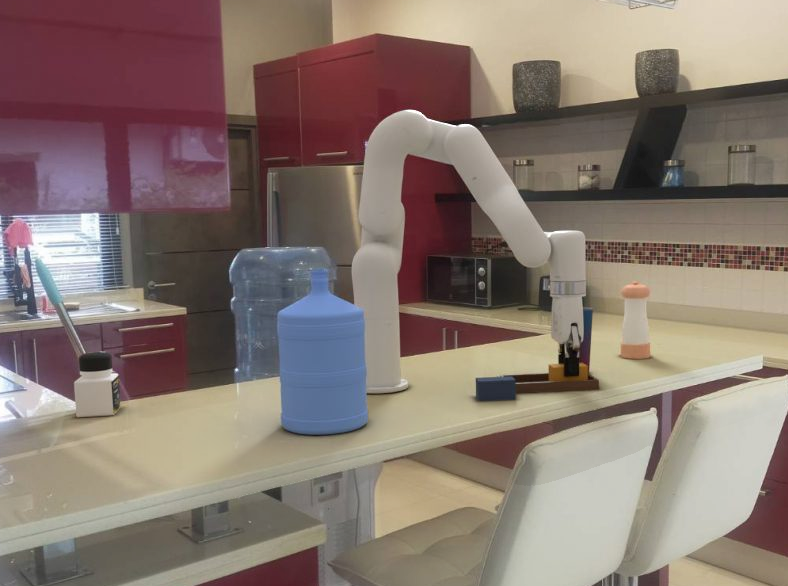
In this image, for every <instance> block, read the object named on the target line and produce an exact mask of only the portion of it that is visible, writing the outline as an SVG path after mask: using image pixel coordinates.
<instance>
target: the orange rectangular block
mask: <svg viewBox="0 0 788 586" xmlns="http://www.w3.org/2000/svg"><path fill="white" fill-rule="evenodd" d="M548 373H549V382H554V381H577V380H588V366H587V365H585V364H583V363H579V376H572V377H565V376H564V364H558V363H549V364H548Z"/></svg>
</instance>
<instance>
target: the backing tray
mask: <svg viewBox="0 0 788 586" xmlns="http://www.w3.org/2000/svg"><path fill="white" fill-rule="evenodd" d="M505 376H512V377H513V378H514V379H515V380H516V394H524V393H525V394H528V393H549V392H550V393H552V392H569V391H570V392H571V391H574V392H575V391H593V390H594V391H595V390H596V391H597V390H600V380H599V379H598V378H597V377H595V376H594V375H592V374H590V372H589V373H588V380H577V381H554V382H549V372H539V373H537V372H536V373H517V374H516V373H515V374H500V375H499V377H505Z"/></svg>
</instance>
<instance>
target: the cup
mask: <svg viewBox="0 0 788 586" xmlns="http://www.w3.org/2000/svg"><path fill="white" fill-rule="evenodd" d="M593 312H594V308H593V307H588V306H587V307H585V306H583V327H584V333H583V341H582V342H581V343H580V348H579V363H583V364H585V365H587V366H588V373H589V374H590V368H591V367H590V366H591V365H590V364H591V350H592V349H591V348H592V346H591V345H592V332H593V314H594V313H593Z"/></svg>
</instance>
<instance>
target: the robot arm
mask: <svg viewBox="0 0 788 586" xmlns="http://www.w3.org/2000/svg"><path fill="white" fill-rule="evenodd" d="M408 155H410V156H415V157H419V158H423V159H427V160H430V161H435V162H439V163H442V164H447V165H452V166H453V167H454V169H455V170H456V172H457V173H458V175H459V176H460V178H461V179H462V182H464V184H465V186H466V187H467V189H468V191H469V192H470V194H471V195H472V196H473V198H474V200H475V201H476V202H477V204H478V206H479V207H480V208H481V210H482V211H483V212H484V213H485V214H486V215H487V216H488V218H489V219H490V220H491V222H492V223H493V224H494V226H495V228H497V230H498V232H499V233H500V234H501V236H502V238H503V239H504V241H505V242H506V244H507V245H508V247H509V249H510V251H511V252H512V253H513V256H514V258H515V259H516V260H517V262H518V263H520V265H522V266H524V267H526V268H531V269H534V268H540V267H542V266H543V265H545V264H549V297H552V302H551V315H550V316H551V318H550V319H551V322H550V337H551V339H552V340H553V341H555V342H556V343H557V344H558V345H557V346H558V347H557V352H558V354H557V358H558V359H557V360H558V361H557V364H564V376H565V377H572V376H579V348H580V343H581V342H582V341H583V333H584V327H583V307H584V306H583V297H586V296H587V277H586V274H587V273H586V272H587V270H586V267H587V266H586V265H587V263H586V235H585V233H584V232H583V231H580V230H556V231H544V230H543V228H542V227H541V225H540V224H539V223H538V220H537V219H536V218H535V216H534V215H533V213H532V211H531V210H530V209H529V207H528V206H527V204H526V202H525V201H524V199H523V198H522V196H521V194H520V193H519V190H518V189H517V187H516V185H515V183H514V182H513V180H512V178H511V177H510V176H509V174H508V173H507V171H506V170H505V168H504V167H503V165H502V163H501V162H500V160H499V159H498V157H497V155H496V154H495V153H494V151H493V149H492V148H491V146H490V144H489V142H487V140H486V138H485V137H484V136H483V134H482V133H481V131H480V130H479V129H478V128H477V127H476V126H473V125H472V124H467V123H466V124H465V123H464V124H458V125H453V124H449V123H445V122H441V121H438V120H433V119H430V118H427V117H426V116H425V115H424V114H422V112H420V111H418V110H414V109H404V110H399V111H397V112H394V113H391V115H388V116H387V117H385V118H384V119H383V120H381V121H379V123H378V125H376V126H375V128H374V129H373V130H372V132H371V134H370V135H369V138H368V141H367V144H366V146H365V153H364V160H363V170H362V177H361V186H360V187H361V188H360V197H359V198H360V199H359V207H358V213H357V215H358V216H357V217H358V221H359V225H360V226H361V234H360V248H358V250H356V253H355V254H354V255H353V259H352V263H351V281H352V290H353V291H352V292H353V302H354V303H353V304H354V305H356V306H358V307H360V308H362V309H363V311H364V319H365V333H364V334H365V363H366V368H367V377H366V393H367V394H390V393H396V392H401V391H403V390H407V389H408V388H409V381H408V380H407V379H404V378H402V368H401V367H402V365H401V337H400V336H401V335H400V334H401V332H400V331H401V328H400V305H399V304H400V303H399V302H400V301H399V285H398V274H399V272H400V270H401V266H402V259H403V246H404V234H405V223H406V210H405V207H404V205H403V203H402V189H403V188H402V187H403V178H404V166H405V160H406V158H407V156H408Z"/></svg>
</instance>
